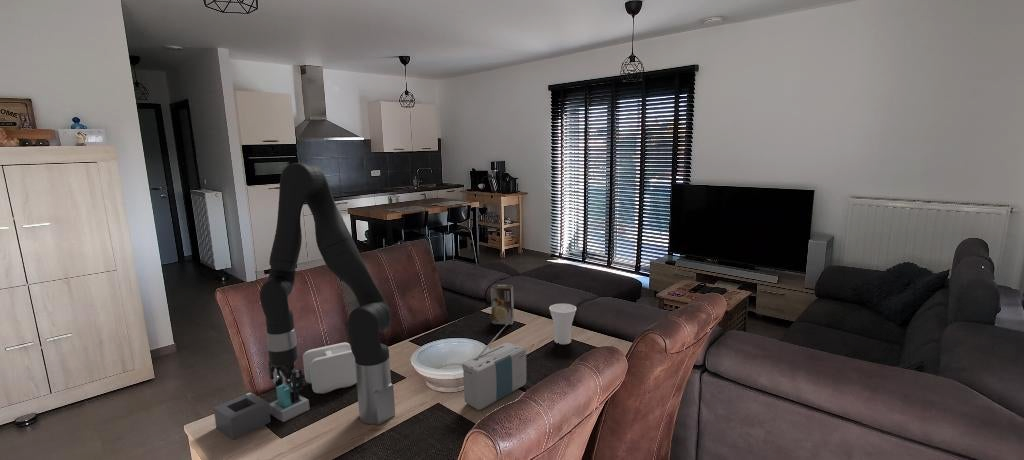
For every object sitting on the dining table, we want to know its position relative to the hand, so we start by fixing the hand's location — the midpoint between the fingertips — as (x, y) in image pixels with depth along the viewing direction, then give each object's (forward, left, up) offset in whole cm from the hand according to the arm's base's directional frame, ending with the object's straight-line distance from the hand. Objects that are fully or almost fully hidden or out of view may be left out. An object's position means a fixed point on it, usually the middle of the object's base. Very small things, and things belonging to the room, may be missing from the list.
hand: (287, 398), depth 139 cm
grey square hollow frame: (0, 0, -4) cm, 4 cm away
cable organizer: (+4, -17, -4) cm, 18 cm away
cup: (-41, -88, -4) cm, 97 cm away
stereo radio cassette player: (-45, -41, -4) cm, 61 cm away
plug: (0, 0, -4) cm, 4 cm away
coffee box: (-9, -92, -4) cm, 93 cm away
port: (+4, +11, -4) cm, 12 cm away
